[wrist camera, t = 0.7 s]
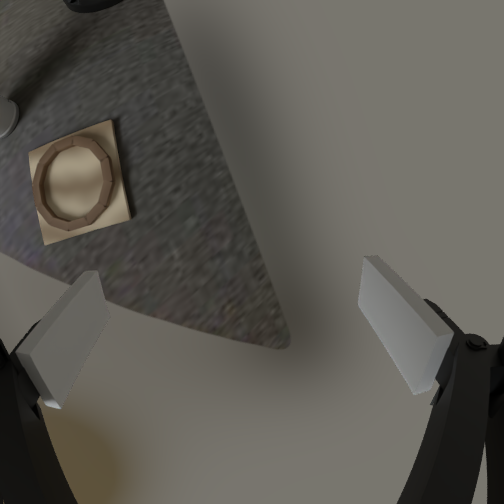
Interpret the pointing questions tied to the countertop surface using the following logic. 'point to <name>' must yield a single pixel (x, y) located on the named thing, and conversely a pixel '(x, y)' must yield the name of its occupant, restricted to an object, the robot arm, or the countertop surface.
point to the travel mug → (7, 116)
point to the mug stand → (78, 183)
